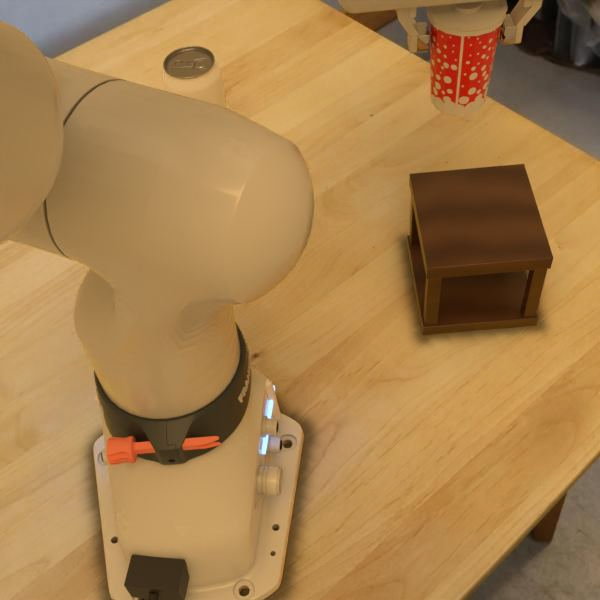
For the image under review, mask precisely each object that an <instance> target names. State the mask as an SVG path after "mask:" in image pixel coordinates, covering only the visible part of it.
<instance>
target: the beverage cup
mask: <svg viewBox="0 0 600 600" xmlns="http://www.w3.org/2000/svg"><path fill="white" fill-rule="evenodd" d="M508 8H509V7H508V3H507V0H492V1H481V2H470V3H460V4H449V5H438V6H428V7H426V15H427V16H426V17H427V20H428V21H429V34H430V38H429V51H430V52H429V54H430V57H429V58H430V64H429V65H430V102H431V104H432V106H433V107H434V109H436V110H437V111H439V112H440V113H442V114H445V115H449V116H453V117H465V116H469V115H472V114H475V113H477V112H478V111H480V110H481V109H482V108H483V107H484V104H485V102H486V101H487V95H488V90H489V86H490V80H491V76H492V71H493V66H494V60H495V56H496V50H497V47H498V42H499V32H500V27H501V25H502V23H503V21H504V19H505V17H506V14H507V12H508V10H509V9H508Z"/></svg>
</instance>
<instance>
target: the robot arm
mask: <svg viewBox="0 0 600 600" xmlns="http://www.w3.org/2000/svg"><path fill="white" fill-rule="evenodd" d="M481 1H492V0H337V3H338V4H339V5H340V7H342V8H343V9H344V10H345V11H346V13H348V14H363V13H373V12H384V11H394V10H395V12H396V16H397V20H398V22H399V23H400V25H401V26H402V28H403V29H404V30H405V31H406V32H405V33H406V34H407V37H406V39H407V47H408V51H409V54H420V53H428V52H429V51H430V29H428V23H427V21H416V20H415V18H417V10H418V9H417V8H427V7H428V6H438V5H449V4H460V3H470V2H481ZM543 1H544V0H518V1H517V3H516V4H515V6H514V7H513V8H512V10H511V12H510V13H506V17H505V19H504V21H503V23H502V25H501V27H500V32H499V37H498V40H500V44H501V45H513V44H521V43H522V38H523V32H524V27H525V26H527V24H528V23H529V22H530V21H531V19H533V17H534V16H535V15H536V14H537V12H538V11H539V10H540V9H541V8H542V6H543ZM314 217H315V192H314V186H313V181H312V176H311V172H310V170H309V167H308V165H307V162H306V160H305V157H304V156H303V154H302V152H301V150H300V149H299V147H298V145H296V143H294V142H293V141H292V140H289V139H287V138H286V137H284V136H282V135H281V134H279V133H276V132H275V131H273V130H271V129H269V128H268V127H266V126H265V125H262V124H260V123H258V122H256V121H254V120H252V119H250V118H248V117H246V116H245V115H242V114H240V113H238V112H236V111H234V110H232V109H230V108H228V107H227V108H226V107H223V106H219V105H216V104H212V103H208V102H204V101H201V100H197V99H193V98H190V97H186V96H182V95H178V94H175V93H171V92H167V91H165V89H164V90H163V89H159V88H155V87H152V86H149V85H145V84H142V83H137V82H133V81H130V80H126V79H123V78H120V77H115V76H112V75H108V74H105V73H102V72H97V71H94V70H91V69H87V68H84V67H80V66H77V65H75V64H71V63H68V62H65V61H62V60H61V61H60V60H58V59H55V58H51V57H50V56H49V57H48V56H46V55H44V54H43V52H42V51H41V50H40V48H39V47H38V46H37V45H36V43H35V42H34V41H33V40H32V39H31V38H30V37H29V36H28V35H27V34H25V32H23V31H22V30H21V29H19V28H18V27H16V26H14V25H13V24H10V23H8V22H6V21H3V20H1V19H0V246H2V245H4V244H6V243H7V242H9V241H10V242H13V243H17V244H20V245H23V246H27V247H30V248H34V249H37V250H40V251H43V252H46V253H50V254H53V255H56V256H59V257H62V258H65V259H68V260H70V261H73V262H77V263H79V264H82V265H83V266H85V267H86V268H89V269H88V270H87V272H86V273H85V275H84V276H83V278H82V280H81V282H80V284H79V286H78V290H77V293H76V295H75V296H76V297H75V299H74V300H75V301H74V304H73V311H72V312H73V313H72V317H73V325H74V330H75V334H76V335H77V338H78V340H79V342H80V344H81V346H82V348H83V350H84V352H85V354H86V357H87V358H88V361H89V362H90V365H91V367H92V369H93V377H94V382H95V383H94V384H95V392H96V395H95V396H94V399H95V401H96V403H97V405H98V407H99V412H100V419H101V427H102V435H100V437H98V438H97V439H96V440H95V442H94V443H93V447H92V449H93V450H92V452H93V453H92V454H93V461H94V470H95V479H96V488H97V489H96V490H97V498H98V507H99V517H100V525H101V533H102V543H103V552H104V560H105V561H104V562H105V570H106V579H107V586H108V592H109V595H110V598H111V600H142V599H144V600H266V599H267V598H269V597H270V596H271V595H273V594H274V593H275V592H277V590H278V589H279V588H280V586H281V584H282V580H283V575H284V569H285V562H286V557H287V556H286V555H287V550H288V544H289V543H288V542H289V537H290V530H291V524H292V517H293V511H294V505H295V498H296V491H297V485H298V478H299V474H300V467H301V459H302V453H303V446H304V440H305V433H304V430H303V427H302V426H301V424H300V423H299V421H296V420H295V419H293V418H291V417H290V416H288V415H286V414H284V413H282V412H281V410H280V407H279V402H278V398H277V395H276V387H275V386H276V385H274V384H273V383H274V382H273V381H272V380H271V379H269V378H268V376H267V375H265V374H263V372H261V371H260V370H258V369H257V368H256V367H255V366H254V365H253V364H251V363H252V362H251V358H250V355H251V354H250V351H249V347H248V343H247V342H246V339H245V337H244V335H243V332H242V330H241V328H240V326H239V325H238V323H237V322H236V318H235V317H236V316H235V311H234V305H235V306H236V305H246V304H250V303H253V302H255V301H257V300H258V299H260V298H262V297H264V296H266V295H267V294H268V293H270V292H271V291H273V290H274V289H275V288H277V287H278V286H279V285H280V284H281V283H282V282H284V280H285V279H286V278H287V277H288V276H289V275H290V273H291V272H292V271H293V270H294V268H296V266H297V264H298V263H299V261H300V260H301V258H302V256H303V254H304V252H305V250H306V247H307V246H308V243H309V240H310V236H311V234H312V230H313V225H314ZM287 444H289V445H291V446H290V447H285V445H287ZM275 529H277V530H275ZM245 589H247V590H248V594H247V595H241V592H242V590H245Z"/></svg>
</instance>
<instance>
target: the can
mask: <svg viewBox="0 0 600 600" xmlns="http://www.w3.org/2000/svg"><path fill="white" fill-rule="evenodd" d="M162 67H163V71H162V76H161V77H162V78H161V79H162V84H163V89H164V91H167V92H171V93H175V94H178V95H182V96H186V97H190V98H193V99H197V100H201V101H204V102H208V103H212V104H216V105H219V106H223V107H226V108H228V103H227V97H226V92H225V87H224V86H225V85H224V80H223V74H222V70H221V67H220V65H219V62H217V60H216V59H215V55H214V53H213V52H212V51H211V50H210V49H208V48H206V47H204V46H200V45H187V46H182V47H179V48H176V49H175V50H173V51H170V53H169V54H167V55H166V57H165V58H164V60H163V63H162Z"/></svg>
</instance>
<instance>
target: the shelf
mask: <svg viewBox="0 0 600 600" xmlns="http://www.w3.org/2000/svg"><path fill="white" fill-rule="evenodd" d="M408 179H409V181H408V185H409V191H410V207H409V209H410V210H409V228H408V229H409V230H408V235H406V246H407V252H408V253H407V254H408V259H409V264H410V269H411V277H412V282H413V287H414V293H415V299H416V305H417V310H418V315H419V322H420V327H421V331H422V332H421V333H422V336H425V335H437V334H449V333H462V332H473V331H474V332H475V331H486V330H496V329H499V330H500V329H509V328H510V329H511V328H522V327H533V326H534V327H535V326H537V325H538V321H539V316H538V309H539V305H540V301H541V297H542V293H543V288H544V286H545V281H546V277H547V273H548V270H550V269H551V268H552V265H553V261H554V255H553V252H552V249H551V246H550V242H549V239H548V237H547V232H546V230H545V226H544V223H543V219H542V217H541V213H540V210H539V207H538V204H537V201H536V198H535V195H534V191H533V188H532V185H531V181H530V178H529V175H528V171H527V168H526V165H525V163H517V164H515V163H514V164H505V165H494V166H481V167H472V168H471V167H469V168H459V169H450V170H449V169H448V170H447V169H446V170H437V171H426V172H414V173H409V178H408ZM526 271H527V272H528V275H527V273H526Z"/></svg>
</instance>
